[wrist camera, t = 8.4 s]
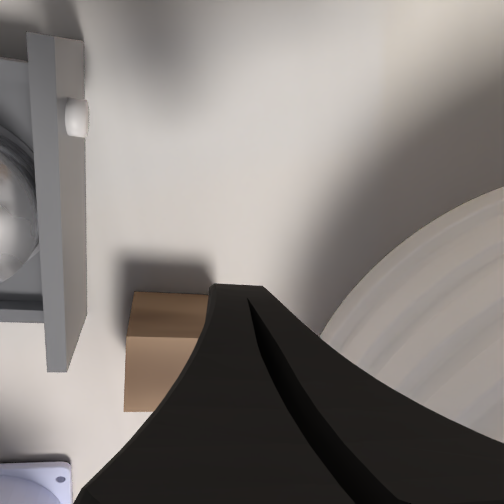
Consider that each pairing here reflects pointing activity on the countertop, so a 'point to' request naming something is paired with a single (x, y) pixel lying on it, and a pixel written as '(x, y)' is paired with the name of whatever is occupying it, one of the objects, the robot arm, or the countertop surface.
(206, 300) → the brown cube
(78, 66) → the tray
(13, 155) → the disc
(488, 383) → the plate stack
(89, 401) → the countertop surface
